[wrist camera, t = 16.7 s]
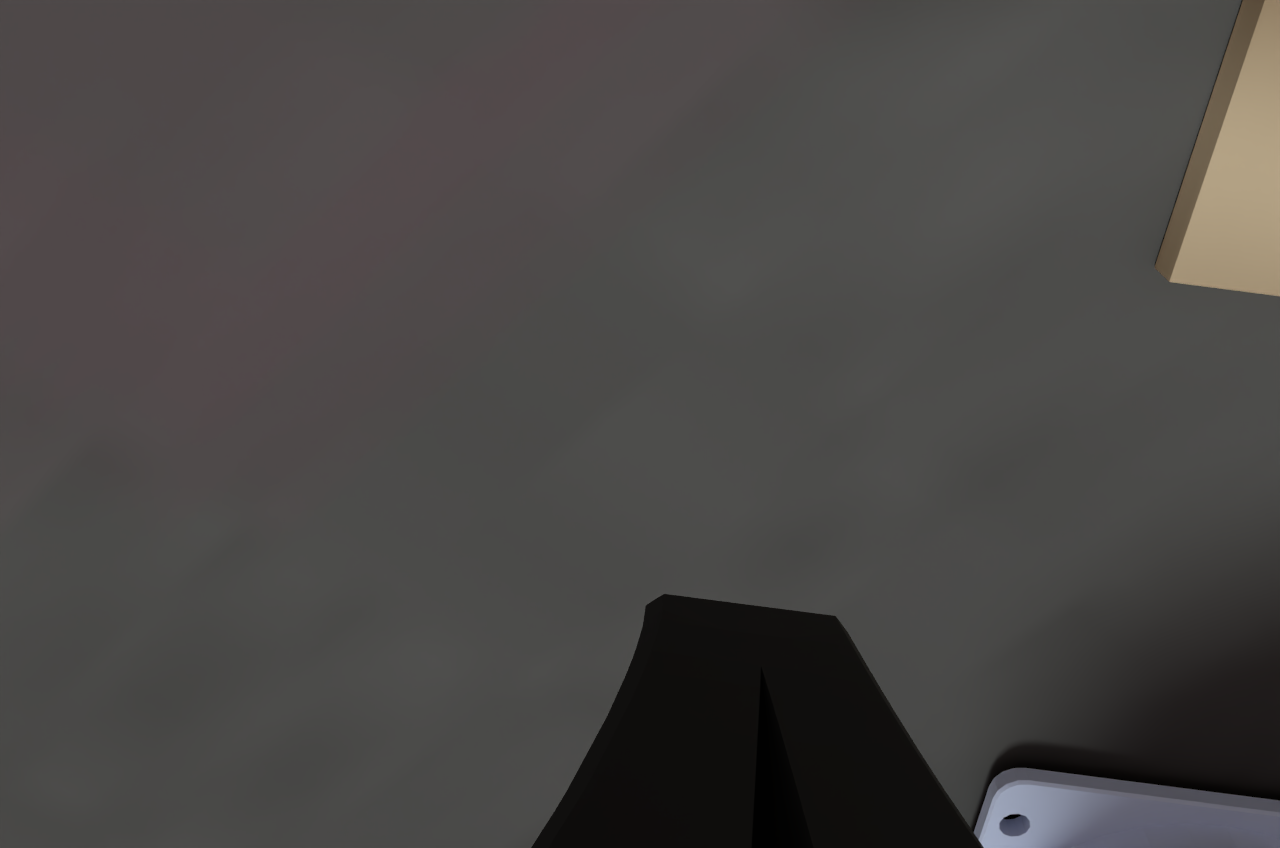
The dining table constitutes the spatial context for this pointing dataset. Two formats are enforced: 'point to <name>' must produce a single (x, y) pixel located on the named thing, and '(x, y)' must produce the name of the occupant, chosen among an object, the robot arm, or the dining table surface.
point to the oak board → (1234, 170)
